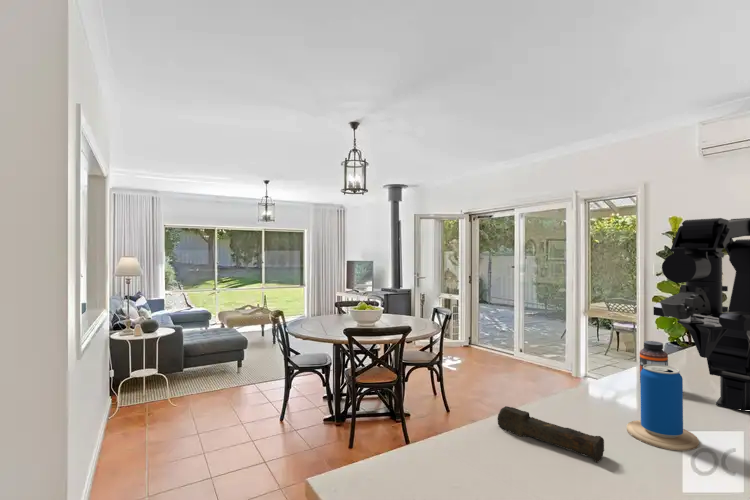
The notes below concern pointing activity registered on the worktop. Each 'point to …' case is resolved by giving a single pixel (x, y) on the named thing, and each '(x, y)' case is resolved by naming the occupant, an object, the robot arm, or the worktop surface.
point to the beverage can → (661, 400)
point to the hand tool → (550, 433)
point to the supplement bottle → (653, 354)
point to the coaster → (679, 443)
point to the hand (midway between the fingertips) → (704, 357)
